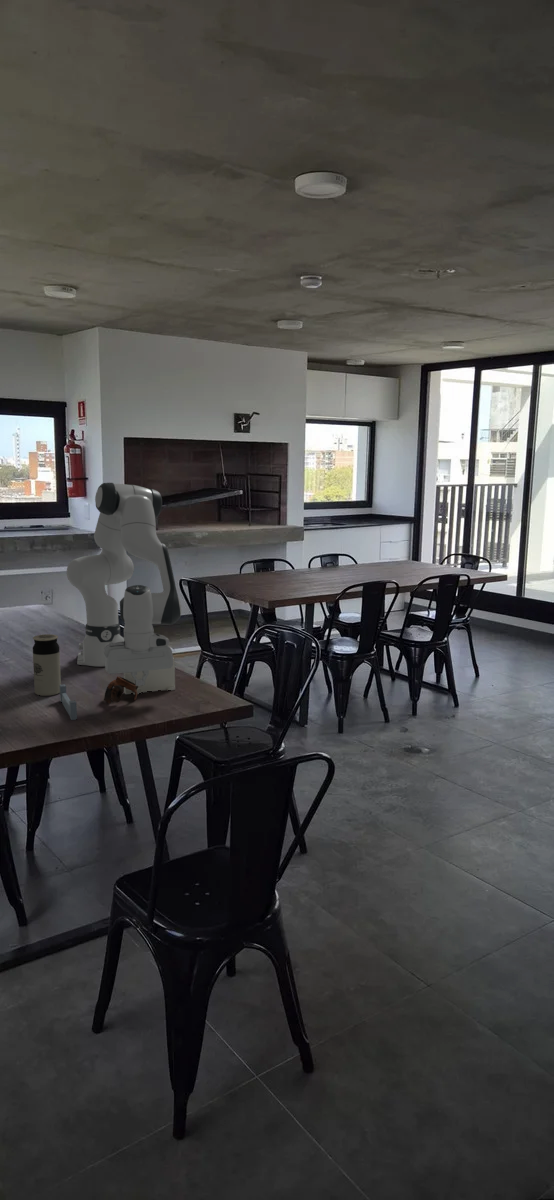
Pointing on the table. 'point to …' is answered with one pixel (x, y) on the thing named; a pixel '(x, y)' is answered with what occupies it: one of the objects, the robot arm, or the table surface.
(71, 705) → the handle
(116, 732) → the table surface
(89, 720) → the table surface
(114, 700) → the pottery mug
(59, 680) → the travel mug
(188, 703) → the table surface
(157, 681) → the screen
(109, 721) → the table surface
